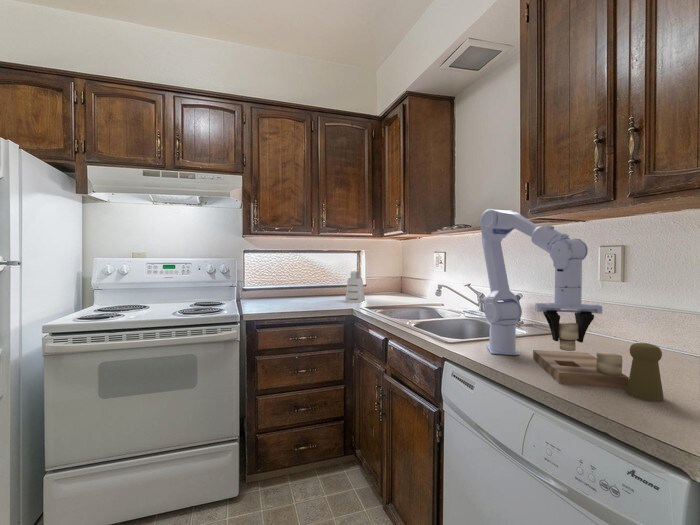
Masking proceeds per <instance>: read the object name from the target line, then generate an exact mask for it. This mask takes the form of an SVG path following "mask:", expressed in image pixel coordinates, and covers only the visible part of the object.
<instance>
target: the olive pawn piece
mask: <svg viewBox="0 0 700 525" xmlns="http://www.w3.org/2000/svg"><path fill="white" fill-rule="evenodd" d="M629 355H630V356H631V357H632V360H631V365H630V371H629V376H628V377H629V381H628V387H627V388H626V394H627V395H629V396H630V397H632V396H633V397H632V398H635V399H638V400H642V401H647V402H653V403H660V402H664V401H665V398H664V391H663V384H662V379H661V377H662V376H661V373H660V372H661V371H660V365H659V361H660V360H661V359H662V356H663V352H662V349H661V348H660V347H659V346H657V345H654V344H651V343H646V342H635V343H632V344H631V345H630V347H629Z"/></svg>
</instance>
